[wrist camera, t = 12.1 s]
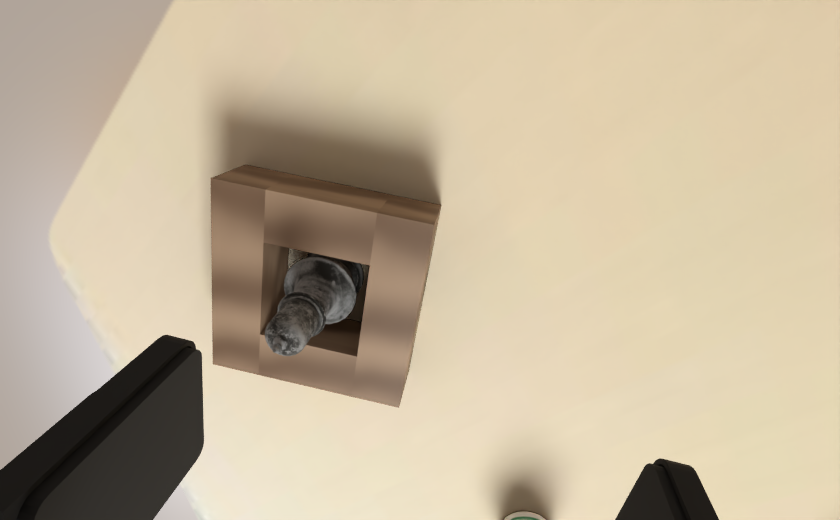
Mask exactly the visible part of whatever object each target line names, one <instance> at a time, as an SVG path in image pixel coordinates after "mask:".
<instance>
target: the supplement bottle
mask: <svg viewBox="0 0 840 520" xmlns="http://www.w3.org/2000/svg"><path fill="white" fill-rule="evenodd" d="M504 520H546V519H545V518H543V517H542V516H540V515H538V514H536V513H532V512H526V511H521V512H515V513H512V514H510V515H509V516H507V517H506V518H505V519H504Z"/></svg>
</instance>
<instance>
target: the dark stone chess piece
mask: <svg viewBox="0 0 840 520" xmlns="http://www.w3.org/2000/svg"><path fill="white" fill-rule="evenodd" d="M363 278H364V276H363V269H362V266H361V264H360V263H356V262H352V261H347V260H342V259H338V258H333V257H329V256H324V255H319V254H315V253H310V254H309V255H308V256H307V257H306V258H304V259H301V260H299V261H298V262H296V263H295V264H293V265H292V266H291V268H290V269H289V270H288V271H287V274H286V276H285V279H284V291H285V297H283V299H282V300H281V301H280V303H279V305H278V313H277V314H276V315H275V316H274V317H273V318H272V320H271V321H270V322H269V323H268V324H267V327H266V330H265V339H266V342H267V344H268V346H269V347H270V349H271V350H272V351H273V352H274V353H277V354H279V355H282V356H293V355H296V354H298V353H299V352H301V351H302V350H303V349H304V347H305V346H306V344H307V343H308V341H309V340H310V338H311V337H313V336H316V335H317V334H319V333H320V332H321V331H322V330H323V328H324V326H325V324H332V323H336V322H339V321H341V320H343V319H344V318H346V317H347V316H348V315H349V314H350V313H351V311H352V309H353V307H354V305H355V302H356V294H357V293H358V292H359V290H360V288H361V286H362V284H363Z"/></svg>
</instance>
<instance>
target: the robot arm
mask: <svg viewBox="0 0 840 520" xmlns="http://www.w3.org/2000/svg"><path fill="white" fill-rule="evenodd" d="M203 444H204V429H203V388H202V355H201V352H200V351H199V350H196V347H195V344H194V342H192V341H189V340H185V339H181V338H177V337H173V336H169V335H164V336H162V337H160V338H159V339H157V340H156V341H155V342H154V343H153V344H151V345H150V346H149V347H148V348H147V349H146V350H144V351H143V352H142V353H141V354H140V355H138V356H137V357H136V358H135V359H134V360H133V361H131V362H130V363H129V364H128V365H127V366H125V367H124V368H123V369H122V370H121V371H120V372H118V373H117V374H116V375H115V376H114V377H112V378H111V379H110V380H109V381H108V382H107V383H105V384H104V385H103V386H102V387H101V388H100V389H98V390H97V391H95V392H94V393H92V394H91V395H89V396H88V397H87V398H86V399H85V400H83V401H82V402H81V403H80V404H79V405H78V406H76V407H75V408H74V409H73V410H72V411H70V412H69V413H68V414H67V415H65V416H64V417H63V418H62V419H61V420H60V421H58V422H57V423H56V424H55V425H54V426H52V427H51V428H50V429H49V430H48V431H46V432H45V433H44V434H43V435H42V436H41V437H39V438H38V439H37V440H36V441H35V442H33V443H32V444H31V445H30V446H29V447H27V448H26V449H25V450H24V451H23V452H21V453H20V454H19V455H18V456H17V457H16V458H14V459H13V460H12V461H11V462H10V463H8V464H7V465H6V466H5V467H4V468H3V469H1V470H0V520H153V519H154V517H155V516H156V515H157V513H158V512H159V511H160V509H161V508H162V507H163V505H164V503H165V502H166V501H167V500H168V498H169V497H170V496H171V494H172V493H173V492H174V490H175V489H176V488H177V486H178V485H179V483H180V482H181V481H182V479H183V478H184V477H185V475H186V474H187V473H188V471H189V470H190V468H191V467H192V466H193V464H194V463H195V462H196V460H197V459H198V457H199V455H200V453H201V451H202V448H203ZM615 520H719V519H718V517H717V515H716V513H715V510H714V508H713V506H712V504H711V502H710V500H709V498H708V496H707V494H706V492H705V490H704V487H703V485H702V483H701V481H700V479H699V477H698V475H697V473H696V471H695V470H694V468H692V467H691V466H689V465H685V464H681V463H677V462H673V461H669V460H665V459H658V460H656V461H655V462H654V464H647V465H646V466H645V467H644V469H643V471H642V472H641V474H640V476H639V478H638V480H637V481H636V483H635V485H634V487H633V489H632V490H631V492H630V494H629V496H628V498H627V499H626V501H625V503H624V505H623V507H622V508H621V510H620V512H619V514H618V516H617V518H616V519H615Z"/></svg>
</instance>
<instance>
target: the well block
mask: <svg viewBox="0 0 840 520" xmlns="http://www.w3.org/2000/svg"><path fill="white" fill-rule="evenodd" d="M440 209H441V205H438V204H433V203H429V202H424V201H419V200H414V199H409V198H404V197H399V196H395V195H390V194H385V193H380V192H375V191H370V190H365V189H361V188H356V187H351V186H346V185H341V184H336V183H331V182H327V181H322V180H317V179H312V178H307V177H302V176H297V175H293V174H288V173H283V172H278V171H273V170H268V169H264V168H259V167H254V166H249V165H243V166H241V167H238V168H236V169H233V170H231V171H228V172H225V173H223V174H220V175H218V176H215V177H213V178H211V238H212V330H213V364H215V365H219V366H223V367H228V368H232V369H236V370H240V371H245V372H249V373H253V374H257V375H262V376H266V377H270V378H275V379H279V380H283V381H287V382H292V383H296V384H300V385H304V386H309V387H313V388H317V389H321V390H326V391H330V392H334V393H339V394H343V395H347V396H351V397H356V398H360V399H364V400H368V401H373V402H377V403H381V404H385V405H390V406H394V407H398V408H399V405H400V402H401V398H402V394H403V390H404V387H405V383H406V379H407V375H408V372H409V367H410V362H411V357H412V352H413V346H414V341H415V336H416V331H417V326H418V321H419V316H420V311H421V306H422V301H423V296H424V291H425V286H426V280H427V275H428V270H429V265H430V260H431V255H432V250H433V245H434V240H435V235H436V230H437V225H438V219H439V214H440ZM289 248H292V249H296V250H301V251H305V252H310V253H315V254H319V255H324V256H329V257H333V258H338V259H342V260H347V261H352V262H356V263H361V264H366V265H370V268H369V275H368V282H367V289H366V296H365V304H364V311H363V318H362V322H358V321H354V320H349V319H345V318H344V319H343V320H341V321H339V322H336V323H332V324H325V326H324V328H323V330H322V331H321V332H320V333H319V334H317V335H316V336H313V337H311V338H310V340H309V341H308V343H307V344H306V346H305V347H304V349H303V350H302V351H301V352H299V353H298V354H296V355H293V356H282V355H279V354H277V353H274V352H273V351H272V350H271V349H270V347H269V346H268V344H267V342H266V339H265V330H266V327H267V324H268V323H269V322H270V321H271V320H272V318H273V317H274V316H275V315H276V314H277V313H278V305H279V303H280V301H281V300H282V299H283V297H285V291H284V279H285V276H286V274H287V270H288V253H289Z"/></svg>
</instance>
